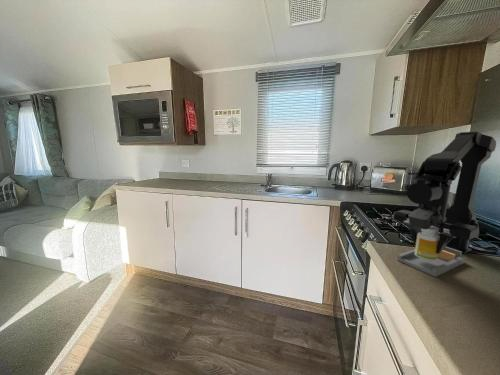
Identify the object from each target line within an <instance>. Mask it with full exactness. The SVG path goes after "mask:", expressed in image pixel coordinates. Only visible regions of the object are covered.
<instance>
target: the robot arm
mask: <svg viewBox="0 0 500 375" xmlns="http://www.w3.org/2000/svg"><path fill="white" fill-rule="evenodd" d="M496 147H497V141H496V140H495V138H494V137H493V136H489V135H487V134H483V133H482V132H481V131H475V130H473V131H461V132H458V133H456V135H455V137H454V138H453V140H452V141H451V142H450V143H449V144H448V145H447V146H446V147H445V148H444V149H443V150H442V151H441V152H437V153H434V154H433V153H432V154H431V155H429V156H428V157H426V158H425V160H423V161H422V163H421V165H420V167H419V169H418V171H417V173H416V175H415V177H414V180H415V181H416V182H415V183H413V184H411V185H410V186H408V188H407V190H406V195H407V198H408V200H409V201H410V202H412V203H413V204H417V205H418V206H417V208H416V209H414V210H413V211H411V210H405V209H400V210H397V211H394V212H393V214H392V220H394V221H398V222H401V223H402V225H404V226H406V228H408V230H409V232H410V235H411V239H412V243H413V245H414V246H415V245H416V239H417V234H418V232H422V231H421V229H429V228H430V227H431V226H433V227H436V228H438V229H440V230H442V231H443V232H438V236H439V237H440V239H439V243H438V246H437V252H436V253H437V254H439V253H440V252H441V251H442V250H443V248H444V247H445V246H446V247H449V248H452V249H455V250H459V251H462V254H467V253H468V252H471V251H472V248H470V247H468V246H469V241H470V240H472V239H475V238H479V235H480V227H479V226H480V225H479V223H478V220H477V216H478V215H477V213H476V212H475V209H474V208H473V204H474V198H475V194H476V190H477V185H478V180H479V177H480V176H479V175H480V173H481V169H482V166H483V164H484V163H485V162H486V161H488V160H489V159H490V158H491V156H492V153H493V152H495V150H496ZM457 177H458V180H457V186H456V189H455V194H454V198H453V203H452V205H450V204H449V203H448V202H449V196H450V190H451V185H452V184H453V181H455V180H456V179H457Z"/></svg>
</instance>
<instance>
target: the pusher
mask: <svg viewBox="0 0 500 375" xmlns="http://www.w3.org/2000/svg"><path fill="white" fill-rule="evenodd" d="M437 257H439V258H441V259H444V260H447V261H451V260H453V259H455V254H453V253H450V252H447V251H444V250H442V251H441V252H440V253H439V254H438V255H437Z"/></svg>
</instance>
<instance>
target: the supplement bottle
mask: <svg viewBox="0 0 500 375" xmlns="http://www.w3.org/2000/svg"><path fill="white" fill-rule="evenodd" d="M439 229H440V228H438V227H434V226H431V227H430V228H429V229H421V232H418V234H417V239H416V245H414V246H415V247H414V249H415V252H414V254H415V255H416V256H417V257H419V258H421V259H424V260H428V261H435V260H437V255H438V254H437V253H436V252H437V246H438V243H439V239H440V236H439Z"/></svg>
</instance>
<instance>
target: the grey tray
mask: <svg viewBox="0 0 500 375" xmlns="http://www.w3.org/2000/svg"><path fill="white" fill-rule="evenodd" d="M443 250H444V251H447V252H450V253H453V254H455V259H453V260H451V261H447V260H444V259H441V258H439V257H437V260H435V261H428V260H424V259H421V258H419V257H417V256H416V255H415V254H414V252H415V248H414V249H411V250H407V251H405V252H402V253H399V254H397V259H396V260H397V261H398V262H401V263H403V264H405V265H408V266H409V267H412V268H414V269H416V270H419V271H421V272H423V273H426V274H427V275H429V276H432V277H434V278H436V277H438V276H440V275H442V274H444V273H447V272H449V271H451V270H453V269H454V268H456V267H460V266H461V265H463V264H465V262H466V257H465V256H462V254H463V253H462V251H459V250H455V249H452V248H449V247H446V246H445V247H444V248H443Z"/></svg>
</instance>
